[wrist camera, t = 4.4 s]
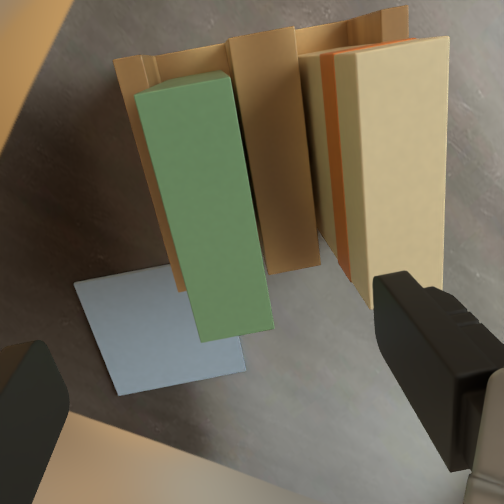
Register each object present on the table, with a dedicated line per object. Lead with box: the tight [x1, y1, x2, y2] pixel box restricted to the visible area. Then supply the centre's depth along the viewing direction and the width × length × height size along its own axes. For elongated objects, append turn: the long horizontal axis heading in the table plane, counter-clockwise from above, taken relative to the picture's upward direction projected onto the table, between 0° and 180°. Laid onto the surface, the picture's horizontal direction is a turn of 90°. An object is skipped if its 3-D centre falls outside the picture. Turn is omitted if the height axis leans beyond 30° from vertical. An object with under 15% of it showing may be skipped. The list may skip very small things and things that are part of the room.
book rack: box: [113, 5, 409, 293], centre depth 28 cm, size 16×14×7 cm
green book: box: [134, 70, 275, 343], centre depth 24 cm, size 4×11×14 cm, turn 9°
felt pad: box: [74, 264, 246, 396], centre depth 36 cm, size 12×12×1 cm
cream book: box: [298, 36, 450, 310], centre depth 24 cm, size 4×11×14 cm, turn 9°
